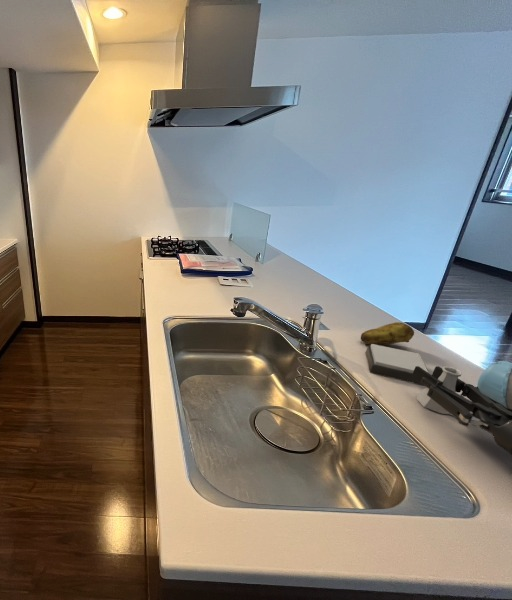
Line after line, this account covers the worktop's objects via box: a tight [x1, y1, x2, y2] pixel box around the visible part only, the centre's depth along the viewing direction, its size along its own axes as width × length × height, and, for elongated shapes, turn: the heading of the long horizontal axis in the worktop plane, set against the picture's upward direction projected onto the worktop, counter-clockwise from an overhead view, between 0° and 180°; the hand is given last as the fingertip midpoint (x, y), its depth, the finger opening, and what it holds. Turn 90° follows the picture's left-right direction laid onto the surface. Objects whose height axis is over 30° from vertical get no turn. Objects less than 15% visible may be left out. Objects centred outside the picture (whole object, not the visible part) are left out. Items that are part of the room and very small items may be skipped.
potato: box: [360, 322, 415, 346], centre depth 100 cm, size 8×13×8 cm, turn 62°
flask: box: [416, 365, 463, 416], centre depth 75 cm, size 7×7×10 cm
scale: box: [365, 344, 430, 387], centre depth 90 cm, size 13×12×4 cm
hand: (425, 370), depth 79 cm, fingers open, 4 cm apart
